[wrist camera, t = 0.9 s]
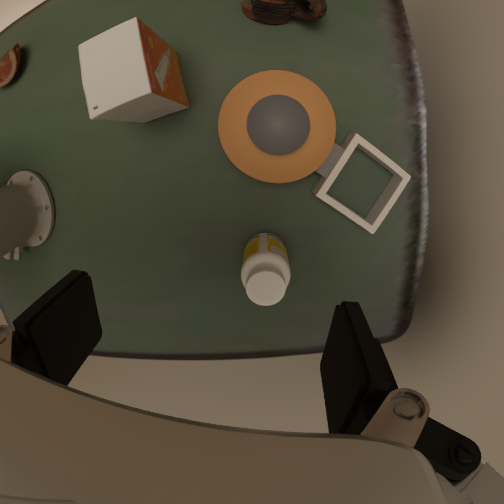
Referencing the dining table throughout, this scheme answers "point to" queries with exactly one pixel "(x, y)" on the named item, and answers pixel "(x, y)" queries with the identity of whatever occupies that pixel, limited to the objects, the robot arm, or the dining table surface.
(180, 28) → the dining table surface
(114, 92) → the small box
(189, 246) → the dining table surface
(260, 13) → the brown curved piece
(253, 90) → the disc and frame
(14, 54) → the fruit slice
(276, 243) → the supplement bottle
